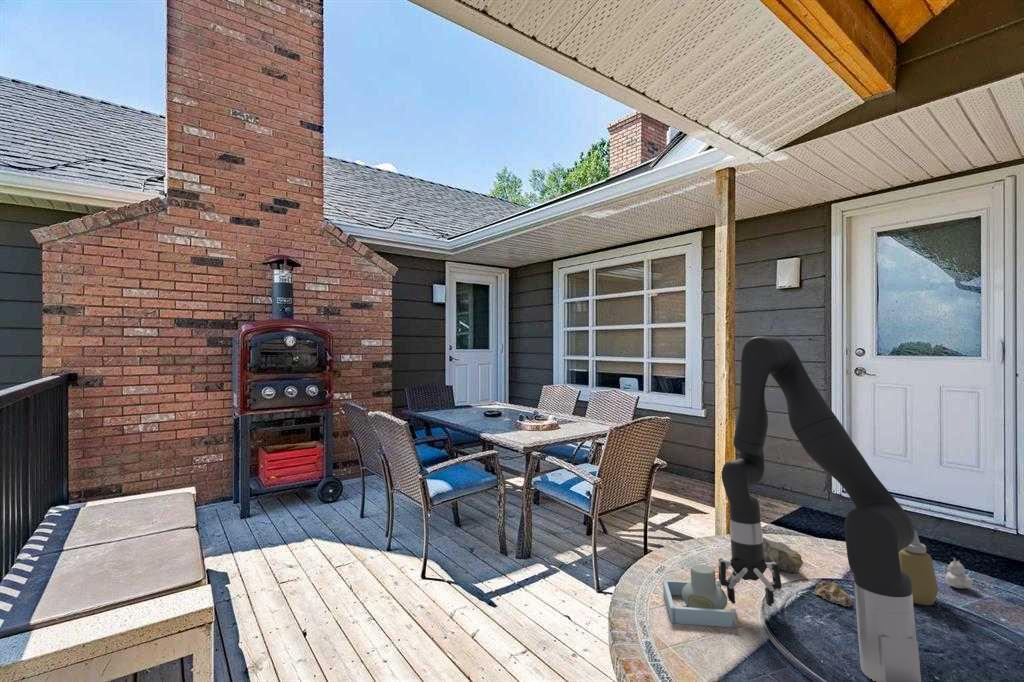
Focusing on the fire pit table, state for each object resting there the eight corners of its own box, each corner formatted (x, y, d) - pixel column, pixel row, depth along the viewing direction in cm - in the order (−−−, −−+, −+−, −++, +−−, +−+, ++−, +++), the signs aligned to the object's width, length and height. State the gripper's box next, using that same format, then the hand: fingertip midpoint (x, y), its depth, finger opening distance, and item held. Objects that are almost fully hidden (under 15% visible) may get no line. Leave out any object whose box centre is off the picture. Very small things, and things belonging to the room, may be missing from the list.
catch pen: (737, 627, 112) (736, 608, 113) (671, 622, 115) (670, 604, 115) (720, 596, 128) (720, 579, 128) (663, 592, 131) (662, 576, 131)
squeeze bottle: (898, 590, 128) (893, 523, 130) (938, 598, 123) (932, 528, 125) (898, 602, 122) (893, 531, 123) (940, 611, 117) (934, 537, 118)
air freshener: (730, 607, 122) (728, 567, 122) (724, 621, 115) (722, 579, 116) (687, 597, 128) (685, 559, 129) (678, 610, 121) (676, 570, 122)
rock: (816, 557, 141) (788, 552, 139) (812, 580, 140) (784, 575, 138) (772, 536, 157) (747, 531, 155) (768, 557, 157) (743, 552, 155)
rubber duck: (957, 582, 132) (954, 553, 133) (982, 593, 126) (979, 562, 126) (939, 583, 132) (936, 554, 132) (963, 594, 125) (960, 563, 126)
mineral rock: (804, 581, 131) (830, 572, 131) (809, 596, 131) (835, 587, 131) (831, 601, 120) (860, 591, 120) (836, 618, 120) (865, 608, 120)
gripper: (720, 542, 119) (724, 608, 117) (782, 544, 116) (786, 612, 115) (713, 532, 126) (717, 594, 125) (771, 534, 123) (776, 598, 122)
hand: (750, 603), depth 120 cm, fingers open, 8 cm apart
